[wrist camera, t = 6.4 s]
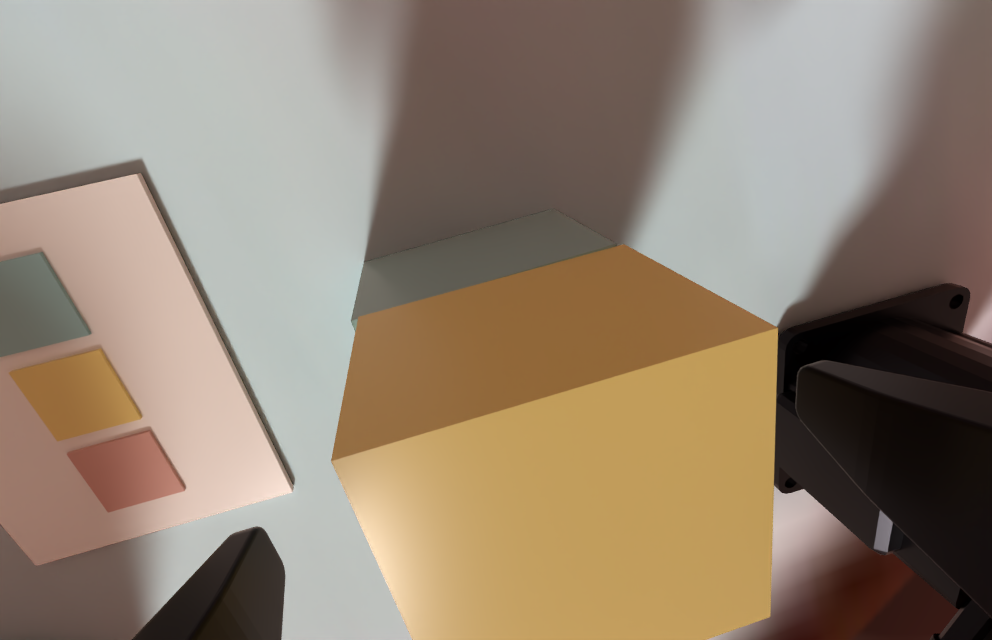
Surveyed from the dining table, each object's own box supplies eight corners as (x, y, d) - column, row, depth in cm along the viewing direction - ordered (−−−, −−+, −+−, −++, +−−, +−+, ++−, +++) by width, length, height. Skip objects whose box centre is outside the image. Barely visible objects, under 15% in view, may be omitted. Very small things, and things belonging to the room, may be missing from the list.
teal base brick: (552, 208, 13) (616, 243, 9) (582, 370, 15) (644, 452, 11) (364, 261, 12) (350, 321, 9) (422, 420, 14) (431, 523, 11)
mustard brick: (623, 243, 9) (778, 328, 5) (647, 453, 11) (770, 616, 7) (358, 316, 9) (330, 460, 5) (433, 521, 11) (452, 729, 7)
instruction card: (140, 172, 10) (134, 174, 10) (294, 487, 14) (291, 494, 14) (-217, 252, 10) (-234, 255, 10) (40, 560, 13) (33, 569, 13)
